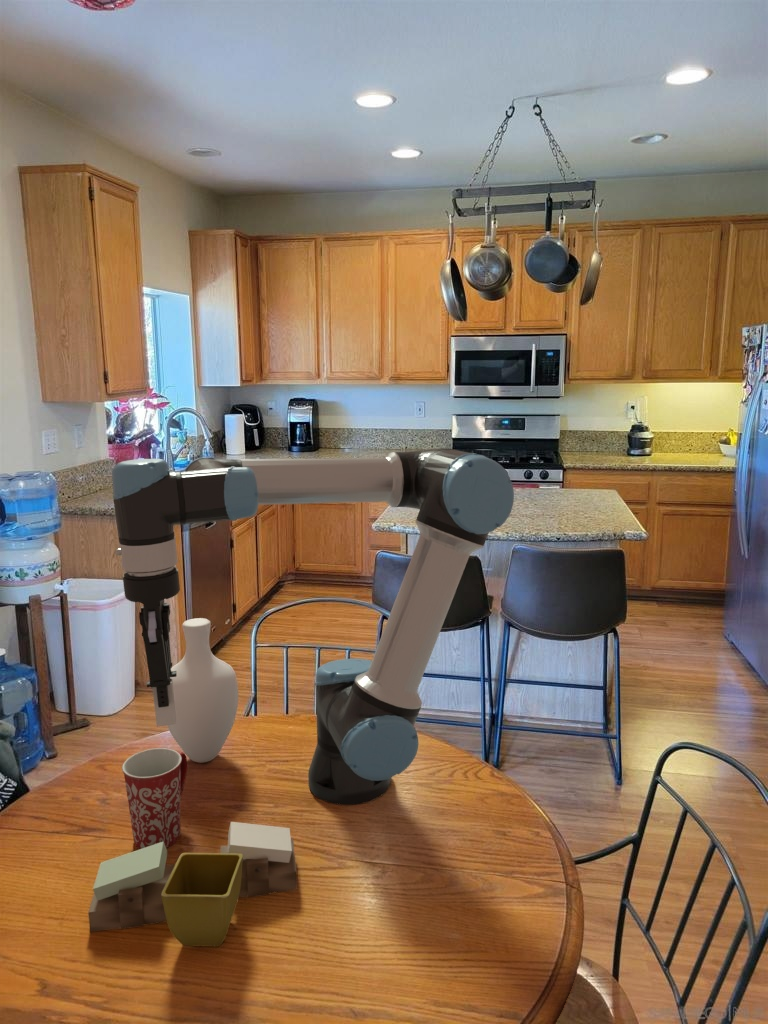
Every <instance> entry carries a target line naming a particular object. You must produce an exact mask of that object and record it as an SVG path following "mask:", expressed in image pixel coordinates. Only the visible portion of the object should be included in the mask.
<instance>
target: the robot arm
mask: <svg viewBox="0 0 768 1024" xmlns="http://www.w3.org/2000/svg"><path fill="white" fill-rule="evenodd" d="M111 479H112V480H111V481H112V482H111V483H112V498H113V499H112V500H113V505H114V514H115V520H116V521H115V522H116V528H117V537H118V542H119V548H116V549H115V552H114V553H115V555H116V556H121V560H120V561H121V570H123V571H124V573H123V574H122V582H123V591H124V597H125V599H126V600H127V601H129V602H132V603H141V604H142V605H143V606H141V607H140V611H139V613H138V618H139V625H140V626H141V628H142V629H141V630H142V631H141V637H142V639H143V643H144V649H145V650H144V651H145V657H146V663H147V667H148V668H147V669H148V676H149V681H148V680H147V682H146V688H152V694H153V695H152V697H153V704H154V713H155V722H156V723H155V724H156V727H157V728H158V727H164V726H167V725H173V724H176V711H175V701H174V692H173V682H172V679H171V678H170V677H176V676H177V673H176V671H171V668H172V667H173V662H172V655H171V654H172V653H171V652H172V651H171V642H170V632H171V622H170V615H171V605H170V604H169V603H167V602H165V600H169V599H171V598H173V597H175V596H177V595H178V594H179V592H180V590H181V588H180V587H181V586H180V578H179V569H178V568H177V567H176V565H177V564H178V553H177V552H178V551H177V550H178V549H177V543H176V542H177V540H176V535H175V529H174V528H175V526H181V525H182V526H184V525H190V524H199V523H200V524H204V523H213V522H225V521H233V522H234V521H235V522H236V521H238V520H241V519H247V518H252V517H254V516H255V515H256V514H257V513H258V509H259V506H262V505H264V506H265V505H301V504H304V505H305V504H307V505H310V504H344V503H346V504H347V503H350V504H351V503H387V504H388V505H389V507H391V508H411V509H416V510H418V511H419V512H418V513H417V517H416V518H415V524H416V526H417V528H418V530H419V538H418V540H417V542H416V545H415V548H414V550H413V553H412V555H411V558H410V561H409V563H408V566H407V568H406V572H405V574H404V575H403V579H402V581H401V584H400V587H399V590H398V592H397V595H396V597H395V600H394V602H393V605H392V609H391V610H390V612H389V616H388V619H387V621H386V622H385V623H386V624H385V626H384V629H383V632H382V633H381V636H380V638H379V641H378V644H377V647H376V650H375V652H374V655H373V657H372V660H370V659H365V658H343V659H335V660H332V661H329V662H326V663H324V664H322V665H320V666H319V667H318V668H317V670H316V672H315V682H314V685H315V702H316V704H315V706H316V709H315V710H316V734H317V736H316V737H317V738H316V747H315V750H314V753H313V757H312V758H311V762H310V765H309V768H308V775H307V776H308V777H307V779H308V788H309V790H310V792H311V793H312V794H313V795H314V796H315V797H316V798H318V799H320V800H321V801H324V802H327V803H330V804H334V805H335V804H336V805H341V806H342V805H344V806H345V805H346V806H350V805H351V806H353V805H359V804H365V803H368V802H372V801H374V800H376V799H378V798H380V797H382V796H383V795H385V793H386V792H387V791H388V790H389V788H390V786H391V783H392V781H391V778H393V777H394V776H396V775H400V774H402V773H403V772H404V771H406V770H407V769H408V768H409V767H410V766H411V764H412V763H413V761H414V760H415V758H416V756H417V753H418V750H419V743H420V742H419V736H418V731H417V730H416V727H415V723H416V721H417V718H418V715H419V713H420V711H421V708H422V704H423V702H422V699H421V697H420V695H419V692H418V690H419V687H420V684H421V682H422V679H423V677H424V673H425V671H426V669H427V667H428V666H427V665H428V663H429V661H430V659H431V656H432V654H433V651H434V648H435V645H436V643H437V641H438V637H439V635H440V633H441V631H442V628H443V625H444V622H445V621H446V620H445V619H446V618H447V615H448V612H449V609H450V607H451V605H452V602H453V601H454V600H453V599H454V597H455V595H456V592H457V588H458V586H459V584H460V581H461V579H462V576H463V574H464V571H465V568H466V565H467V563H468V561H469V558H470V556H471V555H472V553H474V552H476V551H478V550H481V549H483V548H484V546H485V543H486V541H487V539H488V535H489V533H491V532H494V531H495V530H496V529H497V528H499V527H502V526H503V525H504V523H505V522H506V521H508V520H507V519H508V518H509V517H510V514H511V513H512V510H513V506H514V501H515V491H514V486H513V482H512V479H511V478H510V475H509V473H508V472H507V470H506V469H505V468H504V467H503V466H502V465H501V464H500V463H498V462H497V461H496V460H493V459H492V458H489V457H487V456H486V455H483V454H478V453H474V452H468V451H463V450H458V449H453V448H448V447H447V448H446V447H444V448H443V447H442V448H432V449H423V450H422V449H421V450H412V451H392V452H391V451H390V452H389V453H388V454H387V455H386V456H385V457H363V458H362V457H355V458H353V457H351V458H348V457H347V458H345V457H341V458H340V457H339V458H338V457H337V458H335V457H334V458H243V459H242V458H241V459H233V458H231V459H230V458H229V459H224V458H223V459H217V458H214V457H210V456H208V457H207V456H206V457H198V458H196V459H194V460H192V461H190V463H188V465H187V466H186V467H185V469H184V470H183V471H170V468H169V465H168V462H167V460H165V459H162V458H138V459H130V460H129V459H128V460H123V461H120V462H117V463H116V464H115V465H114V467H112V470H111Z"/></svg>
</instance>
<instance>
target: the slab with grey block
mask: <svg viewBox="0 0 768 1024" xmlns="http://www.w3.org/2000/svg"><path fill="white" fill-rule="evenodd" d="M175 864H176V863H173V864H165V870H164V877H163V878H162V879H159V880H157V881H154V882H151V883H148V884H145V885H142V886H139V887H136V888H131V889H123V890H119V894H116V895H113V896H110V897H107V898H104V899H101V900H98V901H97V898H96V896H95V893H94V892H93V895H92V899H91V902H90V905H89V909H88V913H87V914H88V923H89V932H90V933H94V932H101V931H107V930H115V929H121V930H124V929H132V928H138V927H144V926H145V925H146V926H147V925H153V924H161V923H167V920H166V915H165V911H164V906H163V901H162V896H161V894H162V891H163V889H164V887H165V885H166V883H167V881H168V879H169V877H170V875H171V873H172V871H173V869H174V867H175Z"/></svg>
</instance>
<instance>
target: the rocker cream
mask: <svg viewBox="0 0 768 1024" xmlns="http://www.w3.org/2000/svg"><path fill="white" fill-rule="evenodd" d="M290 829H291V828H290V827H283V826H272V825H267V824H266V825H264V824H256V823H245V822H238V821H237V822H236V821H230V824H229V829H228V833H227V835H228V836H227V845H228V853H239V854H242V855H243V858H245V859H262V858H268V861H276V862H286V863H289V861H290V857H291V852H292V848H291V838H292V837H291V830H290Z"/></svg>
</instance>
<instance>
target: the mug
mask: <svg viewBox="0 0 768 1024" xmlns="http://www.w3.org/2000/svg"><path fill="white" fill-rule="evenodd" d="M187 758H188V757H187V755H186V754H185V753H184V751H176V750H174V749H172V748H165V747H162V748H161V747H155V748H148V749H145V750H141V751H139V752H136V753H134V754H132V755H130V756H129V757H127V759H126V760H125V761H124V762H123V764H122V767H121V770H122V773H123V775H124V783H125V788H126V789H125V790H126V796H127V802H128V810H129V815H130V816H129V817H130V823H131V829H132V830H131V831H132V837H133V842H134V845H135V847H136V848H138V850H139V849H142V848H145V847H148V846H151V845H154V844H157V843H160V842H164V844H165V847H166V849H167V848H169V847H172V846H173V845H174V844H175V843H176V842H177V841H179V839H180V836H181V831H182V830H181V823H182V822H181V797H182V794H183V791H184V786H185V782H186V778H187V771H188V759H187Z"/></svg>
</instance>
